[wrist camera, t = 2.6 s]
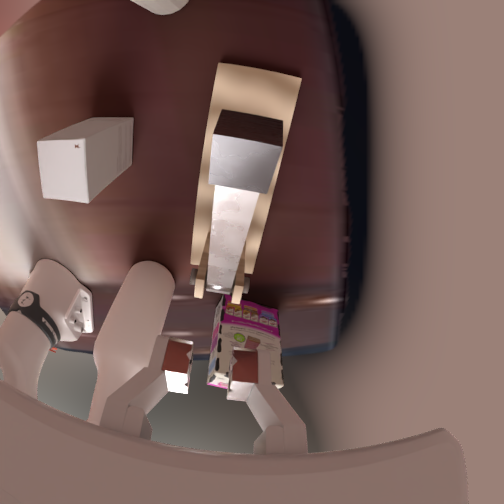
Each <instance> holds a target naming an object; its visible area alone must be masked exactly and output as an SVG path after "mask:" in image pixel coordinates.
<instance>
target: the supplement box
mask: <svg viewBox="0 0 504 504" xmlns="http://www.w3.org/2000/svg"><path fill="white" fill-rule="evenodd" d="M133 122H134V118H130V117H96V118H90V119H87V120H85V121H82V122H79V123H77V124H74V125H72V126H69V127H67V128H64V129H62V130H60V131H57V132H55V133H53V134H51V135H48V136H46V137H44V138H42V139H40V140H38V141H37V149H38V161H39V170H40V178H41V186H42V193H43V198H49V199H59V200H68V201H75V202H82V203H89V202H90V201H91V200H92V199H93V198H94V197H95V196H96V195H98V194H99V193H100V192H101V191H102V190H103V189H104V188H105V187H106V186H107V185H109V184H110V183H111V182H112V181H113V180H114V179H115V178H117V177H118V176H119V175H120V174H121V173H122V172H124V171H125V170H126V169H127V168H128V167H130V166H131V165H132V145H133Z"/></svg>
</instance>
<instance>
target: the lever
mask: <svg viewBox="0 0 504 504" xmlns="http://www.w3.org/2000/svg"><path fill="white" fill-rule="evenodd" d="M282 148H283V120H279V119H274V118H269V117H264V116H259V115H254V114H249V113H243V112H238V111H231V110H225V109H222V110H221V113H220V115H219V118H218V121H217V124H216V126H215V129H214V132H213V137H212V147H211V157H210V169H209V181H208V184H211V185H215V193H214V203H213V213H212V224H211V235H210V247H209V260H208V270H207V275H206V281H205V288H206V291H211V292H217V293H223V294H229V295H230V292H231V293H232V291H233V286H234V279H235V274H236V271H237V267H238V264H239V261H240V257H241V254H242V250H243V247H244V244H245V240H246V237H247V233H248V230H249V227H250V223H251V220H252V217H253V213H254V210H255V206H256V203H257V200H258V196H259V193H262V194H267V193H268V190H269V187H270V184H271V181H272V178H273V175H274V172H275V169H276V166H277V163H278V160H279V157H280V154H281V151H282Z"/></svg>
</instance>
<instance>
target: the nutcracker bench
mask: <svg viewBox="0 0 504 504" xmlns="http://www.w3.org/2000/svg"><path fill="white" fill-rule="evenodd" d="M301 80H302V78H298V77H294V76H290V75H286V74H281V73H277V72H272V71H267V70H262V69H257V68H252V67H246V66H240V65H233V64H226V63H218V68H217V73H216V78H215V83H214V88H213V94H212V99H211V105H210V110H209V116H208V122H207V128H206V135H205V141H204V148H203V155H202V162H201V169H200V177H199V184H198V193H197V201H196V210H195V220H194V230H193V240H192V252H191V264H194V265H199V268H198V269H194V268H192V271H191V276H190V284H192V285H195V294H194V297H198V298H202V297H203V292H204V287H205V281H206V275H207V270H208V260H209V247H210V235H211V224H212V213H213V203H214V193H215V185H211V184H208V181H209V169H210V157H211V147H212V137H213V132H214V129H215V126H216V124H217V121H218V118H219V115H220V113H221V110H222V109H225V110H231V111H238V112H243V113H249V114H254V115H259V116H264V117H269V118H274V119H279V120H283V148H282V151H281V154H280V157H279V160H278V163H277V166H276V169H275V172H274V175H273V178H272V181H271V184H270V187H269V190H268V193H267V194H262V193H259V196H258V200H257V203H256V206H255V210H254V213H253V217H252V220H251V223H250V227H249V230H248V233H247V237H246V240H245V244H244V247H243V250H242V254H241V257H240V261H239V264H238V267H237V271H236V274H235V279H234V286H233V291H232V301H231V303H234V304H240V300H241V296H242V293H248V290H249V285H250V278H249V277H244V273H249V274H252V273H253V269H254V265H255V261H256V257H257V254H258V250H259V246H260V242H261V238H262V234H263V230H264V227H265V223H266V219H267V215H268V211H269V207H270V203H271V199H272V195H273V191H274V187H275V184H276V180H277V176H278V172H279V168H280V164H281V160H282V156H283V152H284V148H285V144H286V140H287V136H288V132H289V128H290V124H291V120H292V116H293V112H294V108H295V104H296V100H297V96H298V92H299V88H300V84H301Z"/></svg>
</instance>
